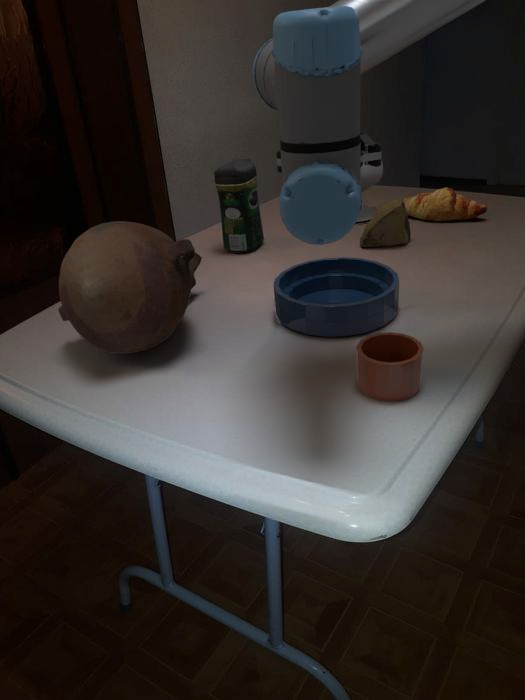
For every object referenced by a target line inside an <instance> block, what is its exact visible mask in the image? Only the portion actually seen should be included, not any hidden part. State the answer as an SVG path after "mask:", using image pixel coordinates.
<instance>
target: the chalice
mask: <svg viewBox="0 0 525 700" xmlns="http://www.w3.org/2000/svg"><path fill="white" fill-rule="evenodd" d="M383 174H384V165H383V159H381V166H378V167H374V166H371V165H364V162H363V165H362V167H361V191H362V193H364V192H365V191H367V190H368V189H370V188H371V187H373V186H375V185H377V183H378V182H380V180H381V179H382V176H383ZM376 211H377V209H375V208H373V207H369V206H362V208H361V210H360V211H359V216H358V219H357V221H356V223H357V222H365V221H370V220H371V219H372V217H373V215H374V214H375V213H376Z"/></svg>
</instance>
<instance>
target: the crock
mask: <svg viewBox="0 0 525 700" xmlns="http://www.w3.org/2000/svg"><path fill="white" fill-rule="evenodd" d="M355 351H356V355H355V357H356V385H357V388H358V389H359V391H360V392H361V393H362V394H364V395H365V396H367V397H369V398H371V399H374V400H377V401H383V402H399V401H403V400H404V401H405V400H407V399H410V398H413V397H414V396H415V395H417V394H418V393H419V392H420V390H421V388H422V384H423V369H424V352H425V349H424V346H423V344H422V342H421V341H420V340H419V339H417V338H415V337H414V336H411V335H408V334H405V333H401V332H391V331H390V332H388V331H387V332H377V333H373V334H369V335H367V336H365V337H363V338H362V339H361V340H359V342H358V343H357V345H356V350H355Z"/></svg>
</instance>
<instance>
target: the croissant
mask: <svg viewBox="0 0 525 700" xmlns="http://www.w3.org/2000/svg"><path fill="white" fill-rule="evenodd" d="M403 201H404V204H405V208H406V211H407V216H408V217H412V218H415V219H418V220H423V221H430V222H431V221H432V222H446V221H464V220H470V219H475V218H478V217H480V216H481V215H484V214H486V213H487V210H488V206H487V205H486V204H480V203H479V202H478V201H476V200H473V199H471V200H469V199H468V198H466V196H465V195H462V194H460V193H457V192H456V191H455V190H454V189H453V188H450V187H448V186H447V187H442V188H438V189H437V190H435V191H434V192H422V193H419V194H417V195H416V196H410V197H406V198H405V199H403Z"/></svg>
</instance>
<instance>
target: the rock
mask: <svg viewBox="0 0 525 700" xmlns="http://www.w3.org/2000/svg"><path fill="white" fill-rule="evenodd" d="M403 200H404V199H403V198H400V199H399V198H392V199H389V200H388V201H385V202H384V203H382V204H380V205H379V206H378V207H377V209H376V210H377V211H376V213H375V214H374V215H373V217H372V219H369V221H368V222H367V223H366V224H365V226H364V229H363V232H362V234H361V236H360V240H359V245H360V247H361V248H375V247H377V248H378V247H389V246H398V245H406V244H408V243H409V242H411V238H412V237H411V224H410V221H409V216H408V215H407V211H406V208H405V204H404V201H403Z"/></svg>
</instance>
